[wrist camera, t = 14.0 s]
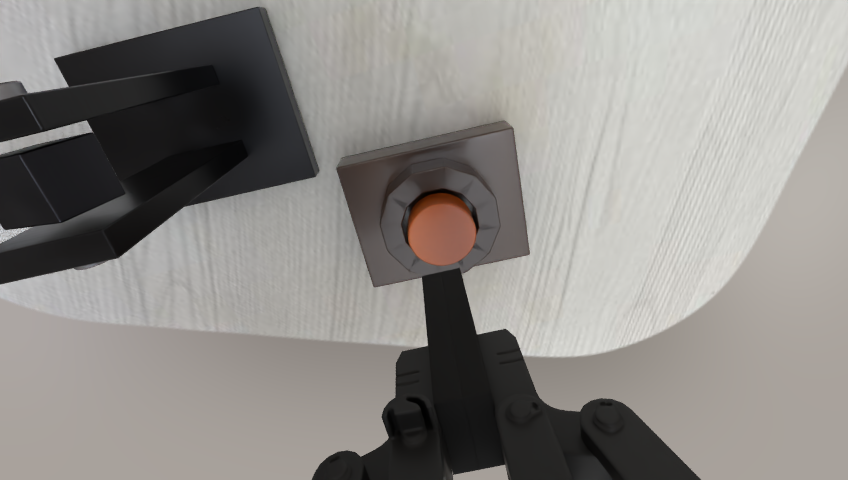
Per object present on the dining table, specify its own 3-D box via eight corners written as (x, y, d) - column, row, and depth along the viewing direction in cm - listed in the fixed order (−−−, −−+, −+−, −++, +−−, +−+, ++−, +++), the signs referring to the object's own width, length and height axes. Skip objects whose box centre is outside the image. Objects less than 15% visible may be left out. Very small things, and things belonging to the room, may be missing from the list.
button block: (375, 271, 30) (371, 304, 26) (341, 157, 27) (330, 177, 23) (522, 240, 29) (538, 269, 26) (505, 119, 26) (521, 133, 22)
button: (415, 257, 26) (416, 272, 24) (400, 200, 24) (400, 212, 22) (476, 244, 25) (481, 258, 24) (465, 185, 24) (470, 196, 22)
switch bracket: (149, 210, 28) (-65, 357, 15) (69, 57, 24) (-305, 83, 11) (319, 171, 27) (245, 290, 14) (265, 7, 23) (100, -23, 11)
